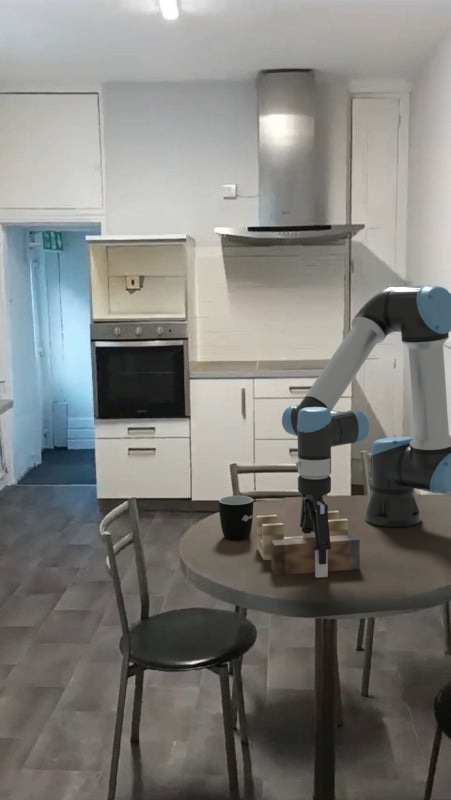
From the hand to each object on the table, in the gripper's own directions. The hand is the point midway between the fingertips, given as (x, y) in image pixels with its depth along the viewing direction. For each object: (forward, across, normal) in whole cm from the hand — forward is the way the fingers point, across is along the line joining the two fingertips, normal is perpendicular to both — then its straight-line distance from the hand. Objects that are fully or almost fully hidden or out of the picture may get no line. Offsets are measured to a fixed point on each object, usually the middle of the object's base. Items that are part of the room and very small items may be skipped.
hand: (314, 568), depth 187 cm
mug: (0, -29, -13) cm, 32 cm away
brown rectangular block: (0, 0, 0) cm, 0 cm away
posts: (0, -13, 0) cm, 13 cm away
